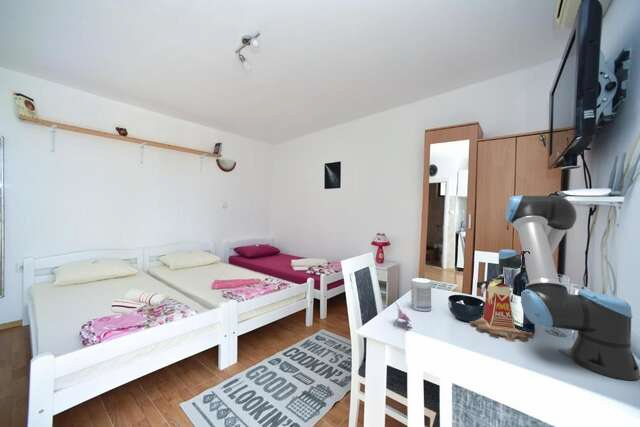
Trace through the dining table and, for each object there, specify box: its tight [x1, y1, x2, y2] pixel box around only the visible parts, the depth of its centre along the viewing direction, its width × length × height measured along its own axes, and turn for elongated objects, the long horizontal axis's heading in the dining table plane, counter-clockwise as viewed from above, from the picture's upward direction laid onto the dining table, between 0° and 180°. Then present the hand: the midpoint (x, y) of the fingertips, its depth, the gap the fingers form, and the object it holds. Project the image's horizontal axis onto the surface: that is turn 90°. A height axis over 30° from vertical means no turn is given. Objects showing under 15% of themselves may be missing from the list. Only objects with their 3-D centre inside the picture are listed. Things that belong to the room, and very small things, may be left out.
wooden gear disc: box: [469, 315, 534, 342], centre depth 110 cm, size 22×22×3 cm
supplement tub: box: [410, 277, 432, 312], centre depth 133 cm, size 10×10×15 cm
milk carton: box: [482, 278, 515, 330], centre depth 110 cm, size 9×9×20 cm
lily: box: [393, 300, 413, 328], centre depth 113 cm, size 12×12×10 cm
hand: (500, 293), depth 114 cm, fingers open, 13 cm apart
